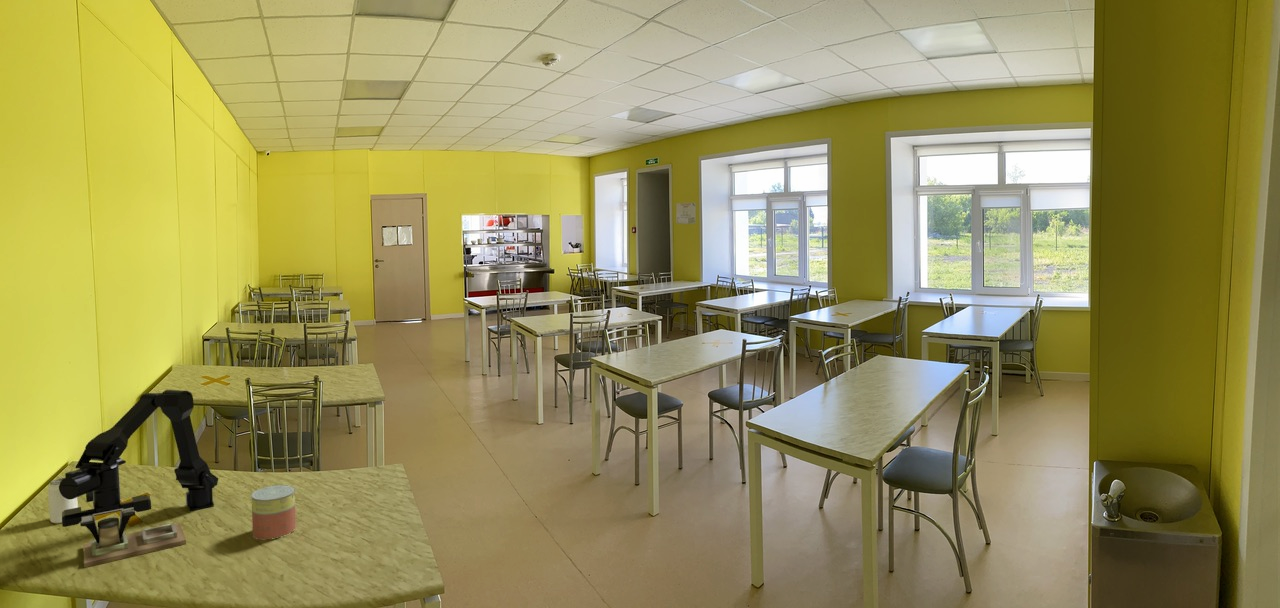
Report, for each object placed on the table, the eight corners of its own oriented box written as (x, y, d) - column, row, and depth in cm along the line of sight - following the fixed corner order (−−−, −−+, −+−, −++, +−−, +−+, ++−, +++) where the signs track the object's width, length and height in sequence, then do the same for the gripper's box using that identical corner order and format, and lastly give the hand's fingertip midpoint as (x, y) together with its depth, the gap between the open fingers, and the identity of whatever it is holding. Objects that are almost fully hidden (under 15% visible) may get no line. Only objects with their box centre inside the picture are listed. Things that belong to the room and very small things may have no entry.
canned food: (304, 528, 199) (303, 489, 198) (269, 543, 189) (268, 502, 188) (279, 520, 204) (277, 482, 203) (243, 535, 194) (242, 495, 193)
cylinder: (119, 540, 185) (118, 516, 184) (120, 546, 182) (119, 521, 181) (98, 544, 182) (97, 520, 182) (99, 551, 179) (97, 526, 178)
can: (62, 525, 197) (59, 485, 196) (44, 522, 198) (41, 483, 197) (84, 516, 203) (81, 478, 202) (67, 513, 205) (64, 476, 204)
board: (179, 526, 198) (179, 517, 198) (186, 543, 188) (185, 534, 187) (83, 547, 184) (82, 538, 184) (84, 567, 173) (83, 557, 173)
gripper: (146, 469, 192) (149, 521, 194) (60, 483, 180) (64, 539, 182) (149, 480, 184) (152, 534, 186) (60, 496, 172) (64, 554, 174)
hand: (109, 540), depth 182 cm, fingers closed on cylinder, 4 cm apart
